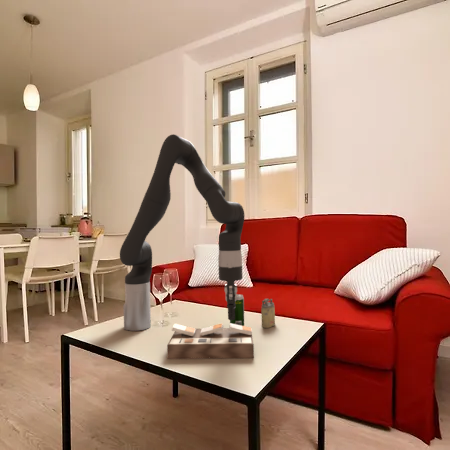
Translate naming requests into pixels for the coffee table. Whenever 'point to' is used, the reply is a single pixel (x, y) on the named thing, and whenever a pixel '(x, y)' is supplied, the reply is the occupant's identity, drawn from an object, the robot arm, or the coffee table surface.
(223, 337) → the switch console
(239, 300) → the beer can
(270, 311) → the lighter
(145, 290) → the robot arm
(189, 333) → the rocker left
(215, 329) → the rocker middle
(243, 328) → the rocker right
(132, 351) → the coffee table surface
